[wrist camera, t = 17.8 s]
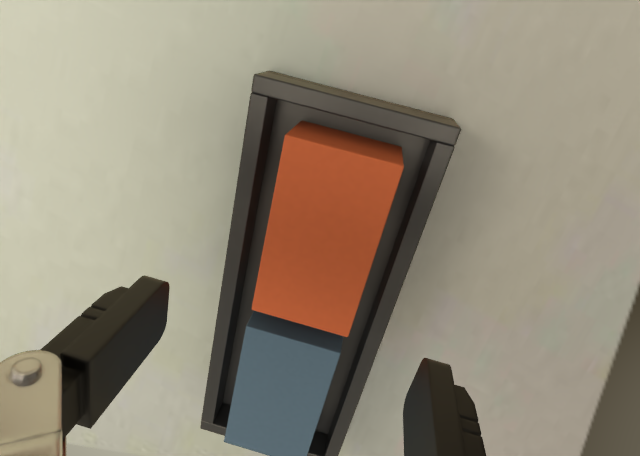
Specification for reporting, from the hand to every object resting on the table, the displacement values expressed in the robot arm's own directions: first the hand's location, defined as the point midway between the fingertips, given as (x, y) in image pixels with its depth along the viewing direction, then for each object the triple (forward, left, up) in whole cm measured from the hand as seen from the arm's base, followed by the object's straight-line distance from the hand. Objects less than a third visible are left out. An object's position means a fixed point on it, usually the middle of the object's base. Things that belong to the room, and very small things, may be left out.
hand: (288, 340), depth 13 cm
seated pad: (+5, +9, -10) cm, 14 cm away
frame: (+3, +4, -11) cm, 12 cm away
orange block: (0, 0, -10) cm, 10 cm away
